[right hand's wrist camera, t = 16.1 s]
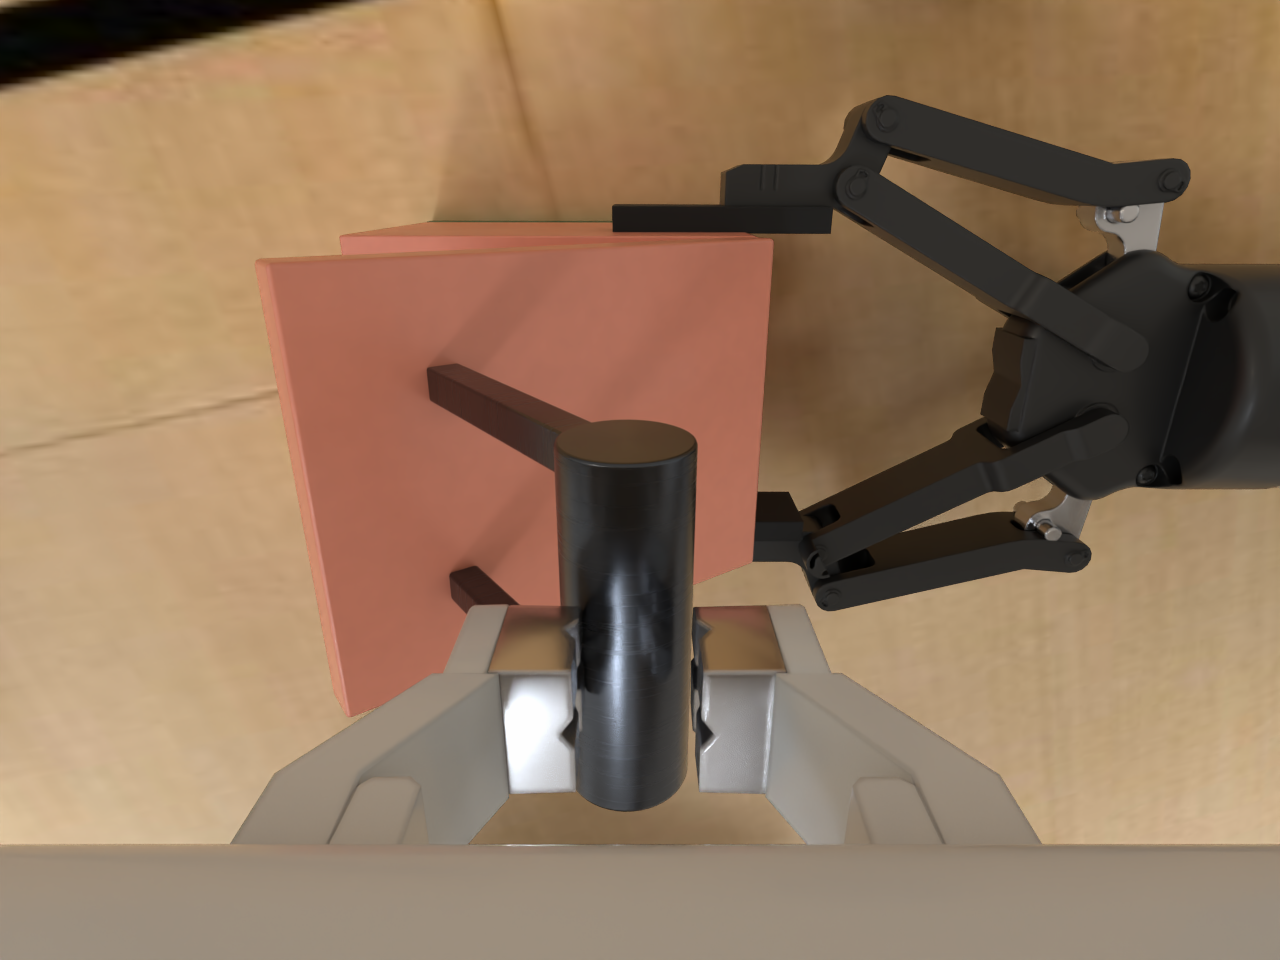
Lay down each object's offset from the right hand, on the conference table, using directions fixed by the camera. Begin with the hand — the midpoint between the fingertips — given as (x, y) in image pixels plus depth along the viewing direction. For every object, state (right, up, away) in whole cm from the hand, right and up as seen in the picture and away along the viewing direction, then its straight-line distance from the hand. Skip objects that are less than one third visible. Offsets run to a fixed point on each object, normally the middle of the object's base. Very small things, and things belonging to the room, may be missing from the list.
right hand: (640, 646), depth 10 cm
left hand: (-1, +6, +15) cm, 16 cm away
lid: (-2, +3, +8) cm, 9 cm away
